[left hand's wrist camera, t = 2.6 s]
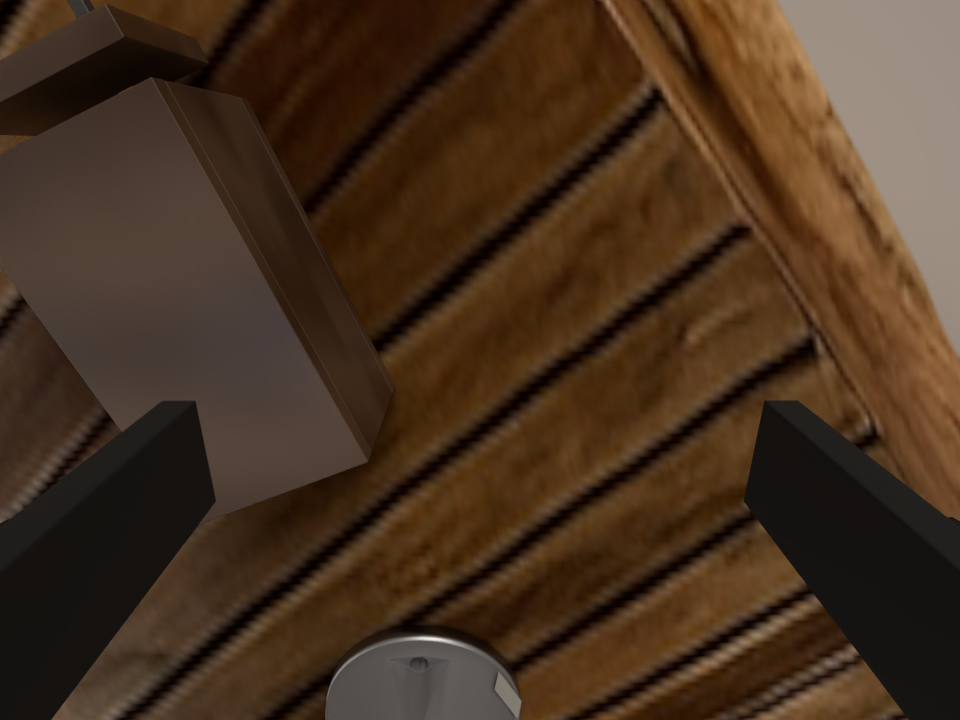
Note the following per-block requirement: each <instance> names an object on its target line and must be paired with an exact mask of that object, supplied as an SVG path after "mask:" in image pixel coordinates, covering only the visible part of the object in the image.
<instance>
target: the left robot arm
mask: <svg viewBox="0 0 960 720" xmlns="http://www.w3.org/2000/svg"><path fill="white" fill-rule="evenodd" d="M215 502H216V498H215V493H214V488H213V483H212V478H211V474H210V469H209V464H208V459H207V454H206V449H205V444H204V439H203V435H202V430H201V425H200V420H199V415H198V410H197V405H196V401H161V402H160V403H159V404H157V405H156V406H155V407H154V408H152V409H151V410H150V411H148V412H147V413H146V414H145V415H143V416H142V417H141V418H139V419H138V420H137V421H136V422H134V423H133V424H132V425H131V426H129V427H128V428H127V429H125V430H124V431H123V432H122V433H120V434H119V435H118V436H116V437H115V438H114V439H113V440H111V441H110V442H109V443H107V444H106V445H105V446H104V447H102V448H101V449H100V450H99V451H97V452H96V453H95V454H93V455H92V456H91V457H90V458H88V459H87V460H86V461H84V462H83V463H82V464H81V465H79V466H78V467H77V468H76V469H74V470H73V471H72V472H70V473H69V474H68V475H67V476H65V477H64V478H63V479H61V480H60V481H59V482H58V483H56V484H55V485H54V486H52V487H51V488H50V489H49V490H47V491H46V492H45V493H44V494H42V495H41V496H40V497H38V498H37V499H36V500H35V501H33V502H32V503H31V504H29V505H28V506H27V507H26V508H24V509H23V510H22V511H20V512H19V513H18V514H17V515H15V516H14V517H13V518H12V519H8V520H6V521H4V522H2V523H0V720H51V719H52V718H53V716H54V715H55V714H56V712H57V711H58V710H59V708H60V707H61V706H62V704H63V703H64V702H65V701H66V699H67V698H68V697H69V695H70V694H71V693H72V691H73V690H74V689H75V687H76V686H77V685H78V683H79V682H80V681H81V679H82V678H83V677H84V675H85V674H86V673H87V671H88V670H89V669H90V667H91V666H92V665H93V663H94V662H95V661H96V660H97V658H98V657H99V656H100V654H101V653H102V652H103V650H104V649H105V648H106V646H107V645H108V644H109V642H110V641H111V640H112V638H113V637H114V636H115V634H116V633H117V632H118V630H119V629H120V628H121V626H122V625H123V624H124V622H125V621H126V620H127V619H128V617H129V616H130V615H131V613H132V612H133V611H134V609H135V608H136V607H137V605H138V604H139V603H140V601H141V600H142V599H143V597H144V596H145V595H146V593H147V592H148V591H149V589H150V588H151V587H152V585H153V584H154V583H155V581H156V580H157V579H158V578H159V576H160V575H161V574H162V572H163V571H164V570H165V568H166V567H167V566H168V564H169V563H170V562H171V560H172V559H173V558H174V556H175V555H176V554H177V552H178V551H179V550H180V548H181V547H182V546H183V544H184V543H185V542H186V541H187V539H188V538H189V537H190V535H191V534H192V533H193V531H194V530H195V529H196V527H197V526H198V525H199V523H200V522H201V521H202V519H203V518H204V517H205V515H206V514H207V513H208V511H209V510H210V509H211V507H212V506H213V505H214V503H215ZM744 502H745V503H746V505H747V506H748V507H749V509H750V510H751V511H752V513H753V514H754V515H755V517H756V518H757V519H758V521H759V522H760V523H761V525H762V526H763V527H764V529H765V530H766V531H767V533H768V534H769V535H770V537H771V538H772V539H773V541H774V542H775V543H776V544H777V546H778V547H779V548H780V550H781V551H782V552H783V554H784V555H785V556H786V558H787V559H788V560H789V562H790V563H791V564H792V566H793V567H794V568H795V570H796V571H797V572H798V574H799V575H800V576H801V578H802V579H803V580H804V581H805V583H806V584H807V585H808V587H809V588H810V589H811V591H812V592H813V593H814V595H815V596H816V597H817V599H818V600H819V601H820V603H821V604H822V605H823V607H824V608H825V609H826V611H827V612H828V613H829V615H830V616H831V617H832V619H833V620H834V621H835V622H836V624H837V625H838V626H839V628H840V629H841V630H842V632H843V633H844V634H845V636H846V637H847V638H848V640H849V641H850V642H851V644H852V645H853V646H854V648H855V649H856V650H857V652H858V653H859V654H860V656H861V657H862V658H863V660H864V661H865V662H866V663H867V665H868V666H869V667H870V669H871V670H872V671H873V673H874V674H875V675H876V677H877V678H878V679H879V681H880V682H881V683H882V685H883V686H884V687H885V689H886V690H887V691H888V693H889V694H890V695H891V697H892V698H893V699H894V701H895V702H896V703H897V704H898V706H899V707H900V708H901V710H902V711H903V712H904V714H905V715H906V716H907V718H908V719H909V720H960V521H958V520H957V519H955V518H953V517H946V516H945V515H943V514H942V513H941V512H940V511H938V510H937V509H936V508H934V507H933V506H932V505H931V504H929V503H928V502H927V501H925V500H924V499H923V498H922V497H920V496H919V495H918V494H916V493H915V492H914V491H913V490H911V489H910V488H909V487H908V486H906V485H905V484H904V483H902V482H901V481H900V480H899V479H897V478H896V477H895V476H893V475H892V474H891V473H890V472H888V471H887V470H886V469H884V468H883V467H882V466H881V465H879V464H878V463H877V462H876V461H874V460H873V459H872V458H870V457H869V456H868V455H867V454H865V453H864V452H863V451H861V450H860V449H859V448H858V447H856V446H855V445H854V444H853V443H851V442H850V441H849V440H847V439H846V438H845V437H844V436H842V435H841V434H840V433H838V432H837V431H836V430H835V429H833V428H832V427H831V426H829V425H828V424H827V423H826V422H824V421H823V420H822V419H821V418H819V417H818V416H817V415H815V414H814V413H813V412H812V411H810V410H809V409H808V408H806V407H805V406H804V405H803V404H801V403H800V402H799V401H764V405H763V410H762V415H761V420H760V425H759V430H758V435H757V439H756V444H755V449H754V454H753V459H752V464H751V469H750V474H749V478H748V483H747V488H746V493H745V498H744ZM521 702H522V701H521V700H520V693H519V686H518V682H517V678H516V676H515V674H514V672H513V670H512V668H511V667H510V665H509V664H508V662H507V661H506V660H505V659H504V658H503V657H502V656H501V655H500V653H498V652H497V651H496V650H495V649H494V648H492V647H491V646H489V645H488V644H486V643H485V642H483V641H481V640H480V639H478V638H476V637H473V636H471V635H469V634H466V633H463V632H460V631H457V630H453V629H449V628H444V627H436V626H406V627H399V628H394V629H390V630H386V631H383V632H380V633H377V634H375V635H372V636H370V637H368V638H366V639H365V640H363V641H361V642H359V643H358V644H357V645H355V646H354V647H353V648H352V649H350V650H349V651H348V652H347V653H346V654H345V655H344V656H343V658H342V659H341V660H340V662H339V663H338V665H337V667H336V669H335V671H334V674H333V676H332V680H331V683H330V687H329V690H328V695H327V702H326V709H325V720H520V713H521V709H520V707H521Z"/></svg>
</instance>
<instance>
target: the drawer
mask: <svg viewBox="0 0 960 720" xmlns="http://www.w3.org/2000/svg"><path fill="white" fill-rule="evenodd" d="M67 1H68V3H69V5H70V6H71V8H72V10H73V11H74V13H75V15H76V16H77V18H78V19H76V20H74V21H72V22H70V23H69V24H67V25H65V26H63V27H61V28H59V29H57V30H56V31H54V32H52V33H50V34H48V35H46V36H45V37H43V38H41V39H39V40H37V41H35V42H33V43H32V44H30V45H28V46H26V47H24V48H22V49H20V50H19V51H17V52H15V53H13V54H11V55H9V56H8V57H6V58H4V59H2V60H0V135H22V136H37V135H39V134H41V133H43V132H45V131H47V130H49V129H51V128H53V127H55V126H56V125H58V124H60V123H62V122H64V121H66V120H68V119H70V118H72V117H74V116H76V115H78V114H80V113H82V112H84V111H86V110H88V109H90V108H92V107H94V106H96V105H98V104H100V103H102V102H103V101H105V100H107V99H109V98H111V97H113V96H115V95H117V94H119V93H121V92H123V91H125V90H127V89H129V88H131V87H133V86H135V85H137V84H139V83H141V82H143V81H145V80H147V79H149V78H150V77H153V78H157V79H162V80H164V81H169V82H174V81H176V80H178V79H180V78H182V77H184V76H186V75H188V74H190V73H192V72H194V71H196V70H198V69H200V68H202V67H204V66H206V65H208V64H209V63H208V61H207V59H206V57H205V55H204V53H203V51H202V49H201V47H200V45H199V43H198V42H197V40H196V39H195V38H193V37H190V36H187V35H185V34H182V33H180V32H177V31H174V30H172V29H169V28H167V27H164V26H162V25H159V24H156V23H154V22H151V21H149V20H146V19H144V18H141V17H138V16H136V15H133V14H131V13H128V12H125V11H123V10H120V9H118V8H115V7H113V6H110V5H107V4H104V5H102V6H100V7H98V8H96V9H94V7H93V5H92V4H91V2H90V0H67ZM1 154H2V153H1Z"/></svg>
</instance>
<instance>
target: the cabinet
mask: <svg viewBox="0 0 960 720" xmlns="http://www.w3.org/2000/svg"><path fill="white" fill-rule="evenodd" d="M0 266H1V267H2V269H3V270H4V272H5V273H6V274H7V276H8V277H9V278H10V280H11V281H12V282H13V284H14V285H15V287H16V288H17V289H18V291H19V292H20V293H21V295H22V296H23V297H24V299H25V300H26V302H27V303H28V304H29V306H30V307H31V308H32V310H33V311H34V312H35V314H36V315H37V317H38V318H39V319H40V321H41V322H42V323H43V325H44V326H45V327H46V329H47V330H48V332H49V333H50V334H51V336H52V337H53V338H54V340H55V341H56V342H57V344H58V345H59V347H60V348H61V349H62V351H63V352H64V353H65V355H66V356H67V358H68V359H69V360H70V362H71V363H72V364H73V366H74V367H75V368H76V370H77V371H78V373H79V374H80V375H81V377H82V378H83V379H84V381H85V382H86V383H87V385H88V386H89V388H90V389H91V390H92V392H93V393H94V394H95V396H96V397H97V398H98V400H99V401H100V403H101V404H102V405H103V407H104V408H105V409H106V411H107V412H108V413H109V415H110V416H111V418H112V419H113V420H114V422H115V423H116V424H117V426H118V427H119V428H120V430H121V431H122V432H123V431H124V430H125V429H127V428H128V427H129V426H131V425H132V424H133V423H134V422H136V421H137V420H138V419H139V418H141V417H142V416H143V415H145V414H146V413H147V412H148V411H150V410H151V409H152V408H154V407H155V406H156V405H157V404H159V403H160V402H161V401H196V405H197V410H198V415H199V420H200V425H201V430H202V435H203V439H204V444H205V449H206V454H207V459H208V464H209V469H210V474H211V478H212V483H213V488H214V493H215V498H216V502H215V503H214V505H213V506H212V507H211V509H210V510H209V511H208V513H207V514H206V515H205V517H204V518H203V519H202V521H201V522H200V523H199V524H201V523H204V522H207V521H209V520H212V519H215V518H217V517H220V516H223V515H226V514H228V513H231V512H234V511H237V510H239V509H242V508H245V507H247V506H250V505H253V504H256V503H258V502H261V501H264V500H266V499H269V498H272V497H275V496H277V495H280V494H283V493H286V492H288V491H291V490H294V489H296V488H299V487H302V486H305V485H307V484H310V483H313V482H315V481H318V480H321V479H324V478H326V477H329V476H332V475H335V474H337V473H340V472H343V471H345V470H348V469H351V468H354V467H356V466H359V465H362V464H364V463H367V462H368V461H369V458H370V455H371V452H372V449H373V446H374V444H375V441H376V438H377V435H378V433H379V430H380V427H381V425H382V422H383V419H384V416H385V414H386V411H387V408H388V405H389V403H390V400H391V397H392V395H393V392H394V389H395V386H394V384H393V383H392V381H391V379H390V377H389V375H388V373H387V371H386V369H385V367H384V365H383V363H382V361H381V359H380V357H379V355H378V353H377V351H376V349H375V347H374V346H373V344H372V342H371V340H370V338H369V336H368V334H367V332H366V330H365V328H364V326H363V324H362V322H361V320H360V318H359V316H358V314H357V312H356V310H355V308H354V307H353V305H352V303H351V301H350V299H349V297H348V295H347V293H346V291H345V289H344V287H343V285H342V283H341V281H340V279H339V277H338V275H337V273H336V271H335V269H334V268H333V266H332V264H331V262H330V260H329V258H328V256H327V254H326V252H325V250H324V248H323V246H322V244H321V242H320V240H319V238H318V236H317V234H316V232H315V231H314V229H313V227H312V225H311V223H310V221H309V219H308V217H307V215H306V213H305V211H304V209H303V207H302V205H301V203H300V201H299V199H298V197H297V195H296V193H295V192H294V190H293V188H292V186H291V184H290V182H289V180H288V178H287V176H286V174H285V172H284V170H283V168H282V166H281V164H280V162H279V160H278V158H277V156H276V154H275V153H274V151H273V149H272V147H271V145H270V143H269V141H268V139H267V137H266V135H265V133H264V131H263V129H262V127H261V125H260V123H259V121H258V119H257V117H256V116H255V114H254V112H253V110H252V108H251V106H250V104H249V102H248V100H247V99H246V98H243V97H238V96H233V95H229V94H224V93H219V92H215V91H210V90H206V89H201V88H197V87H192V86H187V85H183V84H178V83H174V82H169V81H164V80H162V79H157V78H153V77H150V78H149V79H147V80H145V81H143V82H141V83H139V84H137V85H135V86H133V87H131V88H129V89H127V90H125V91H123V92H121V93H119V94H117V95H115V96H113V97H111V98H109V99H107V100H105V101H103V102H102V103H100V104H98V105H96V106H94V107H92V108H90V109H88V110H86V111H84V112H82V113H80V114H78V115H76V116H74V117H72V118H70V119H68V120H66V121H64V122H62V123H60V124H58V125H56V126H55V127H53V128H51V129H49V130H47V131H45V132H43V133H41V134H39V135H37V136H35V137H33V138H31V139H29V140H27V141H25V142H23V143H21V144H19V145H17V146H15V147H13V148H11V149H10V150H8V151H6V152H4V153H2V154H0Z"/></svg>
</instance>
